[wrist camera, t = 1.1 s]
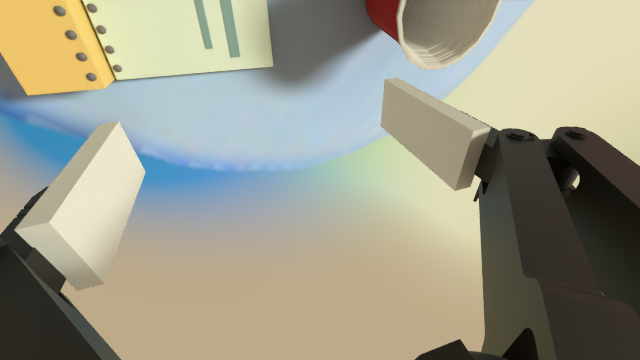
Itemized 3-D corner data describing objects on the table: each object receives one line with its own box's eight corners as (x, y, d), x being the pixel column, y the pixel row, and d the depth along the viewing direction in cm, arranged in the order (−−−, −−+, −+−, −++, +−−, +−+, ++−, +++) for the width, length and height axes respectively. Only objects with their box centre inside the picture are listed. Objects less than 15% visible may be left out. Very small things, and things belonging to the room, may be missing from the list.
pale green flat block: (75, -31, 24) (68, -32, 23) (260, -32, 28) (263, -32, 26) (120, 76, 29) (116, 80, 28) (271, 63, 33) (273, 66, 32)
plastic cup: (366, 66, 37) (418, 94, 27) (329, -20, 30) (381, -22, 21) (436, 17, 36) (515, 28, 26) (414, -84, 29) (508, -116, 20)
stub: (-17, -31, 22) (-57, -34, 19) (70, -31, 24) (47, -34, 20) (48, 82, 27) (26, 95, 24) (116, 77, 29) (104, 88, 26)
